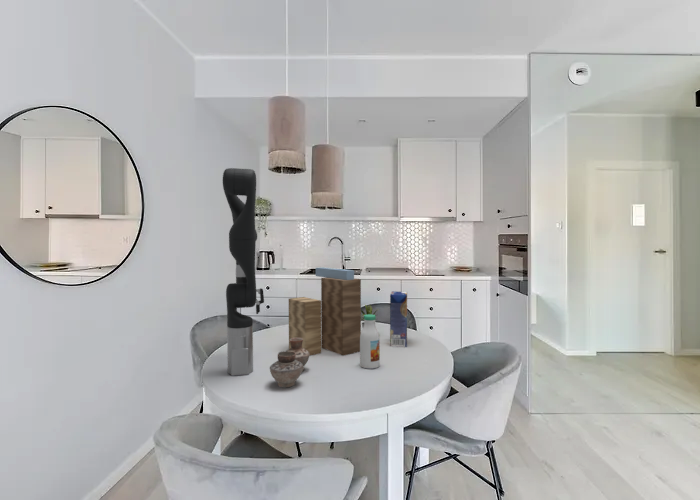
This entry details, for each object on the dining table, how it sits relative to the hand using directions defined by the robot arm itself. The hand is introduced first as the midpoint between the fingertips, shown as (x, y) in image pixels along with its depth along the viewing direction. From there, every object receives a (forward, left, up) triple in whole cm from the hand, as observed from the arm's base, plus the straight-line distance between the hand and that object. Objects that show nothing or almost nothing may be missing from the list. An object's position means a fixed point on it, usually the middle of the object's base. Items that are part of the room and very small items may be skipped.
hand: (246, 314), depth 161 cm
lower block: (+6, -25, -19) cm, 31 cm away
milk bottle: (-21, -47, -19) cm, 55 cm away
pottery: (-26, -16, -19) cm, 36 cm away
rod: (+9, -39, +13) cm, 42 cm away
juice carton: (+7, -70, -19) cm, 73 cm away
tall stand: (+4, -41, -19) cm, 45 cm away
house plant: (+27, -60, -19) cm, 68 cm away
